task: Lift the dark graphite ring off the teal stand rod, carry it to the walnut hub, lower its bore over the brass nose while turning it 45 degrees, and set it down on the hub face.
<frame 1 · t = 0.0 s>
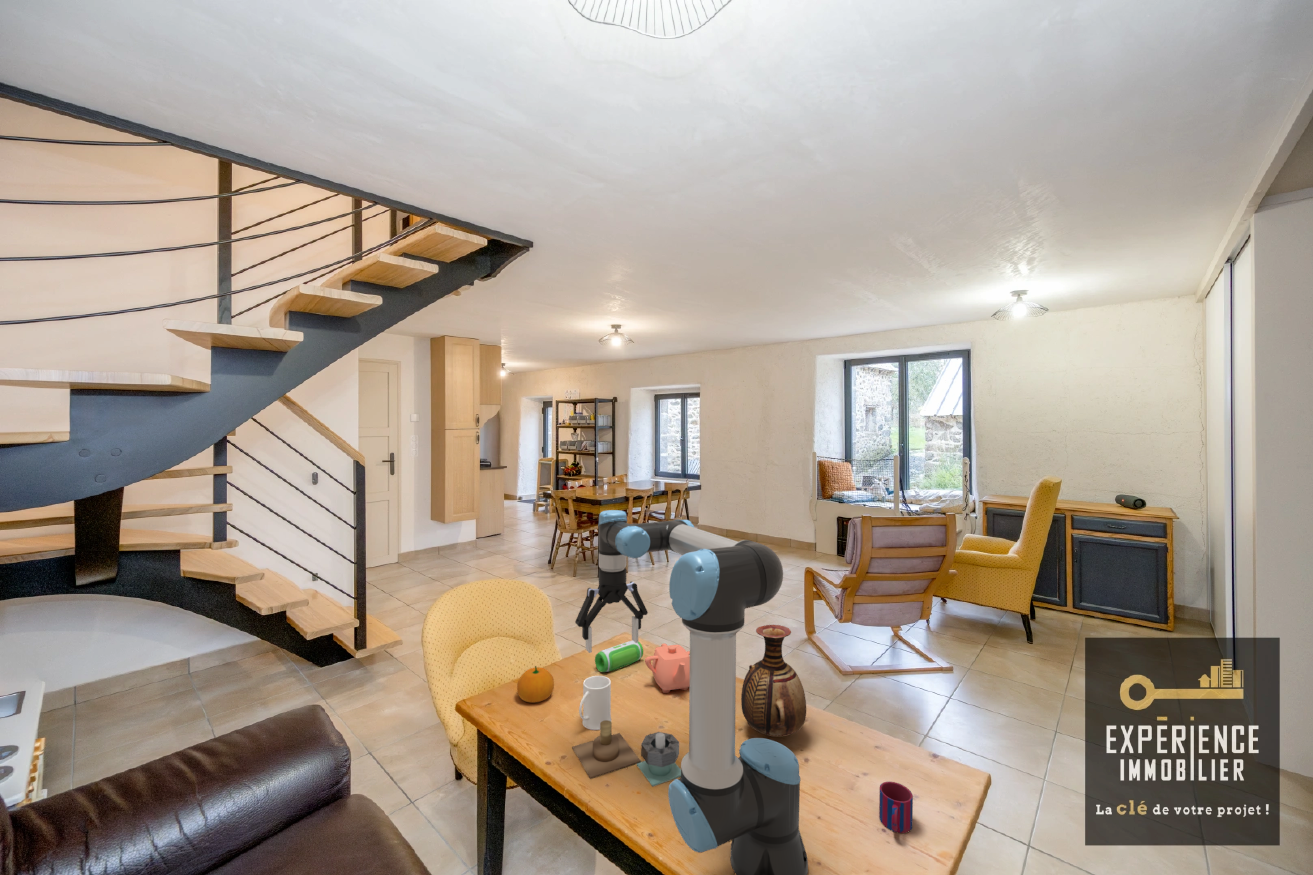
hand: (612, 645, 141), 28 cm above the table, fingers open, 13 cm apart
hub: (605, 754, 138), on the table
vase: (773, 734, 148), on the table
mug: (593, 725, 152), on the table
stand: (660, 770, 132), on the table
speaker: (619, 666, 190), on the table
teapot: (672, 686, 175), on the table
fruit: (535, 697, 168), on the table
cup: (894, 827, 114), on the table
clutch ring: (660, 754, 132), point 4 cm above the table, touching stand
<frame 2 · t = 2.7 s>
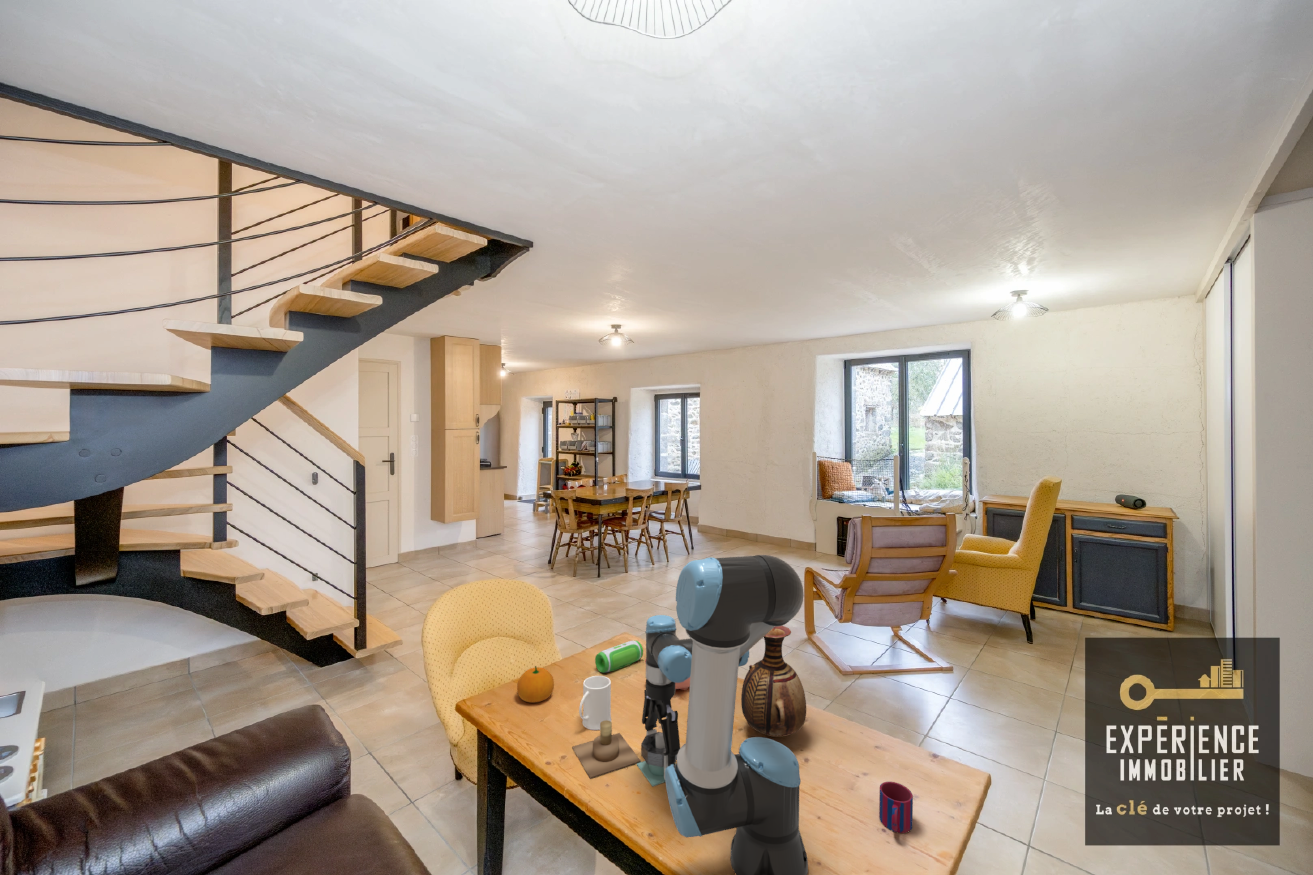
hand: (660, 765, 132), 1 cm above the table, fingers closed on clutch ring, 9 cm apart
clutch ring: (660, 754, 132), point 4 cm above the table, touching gripper, stand
everything else where it was.
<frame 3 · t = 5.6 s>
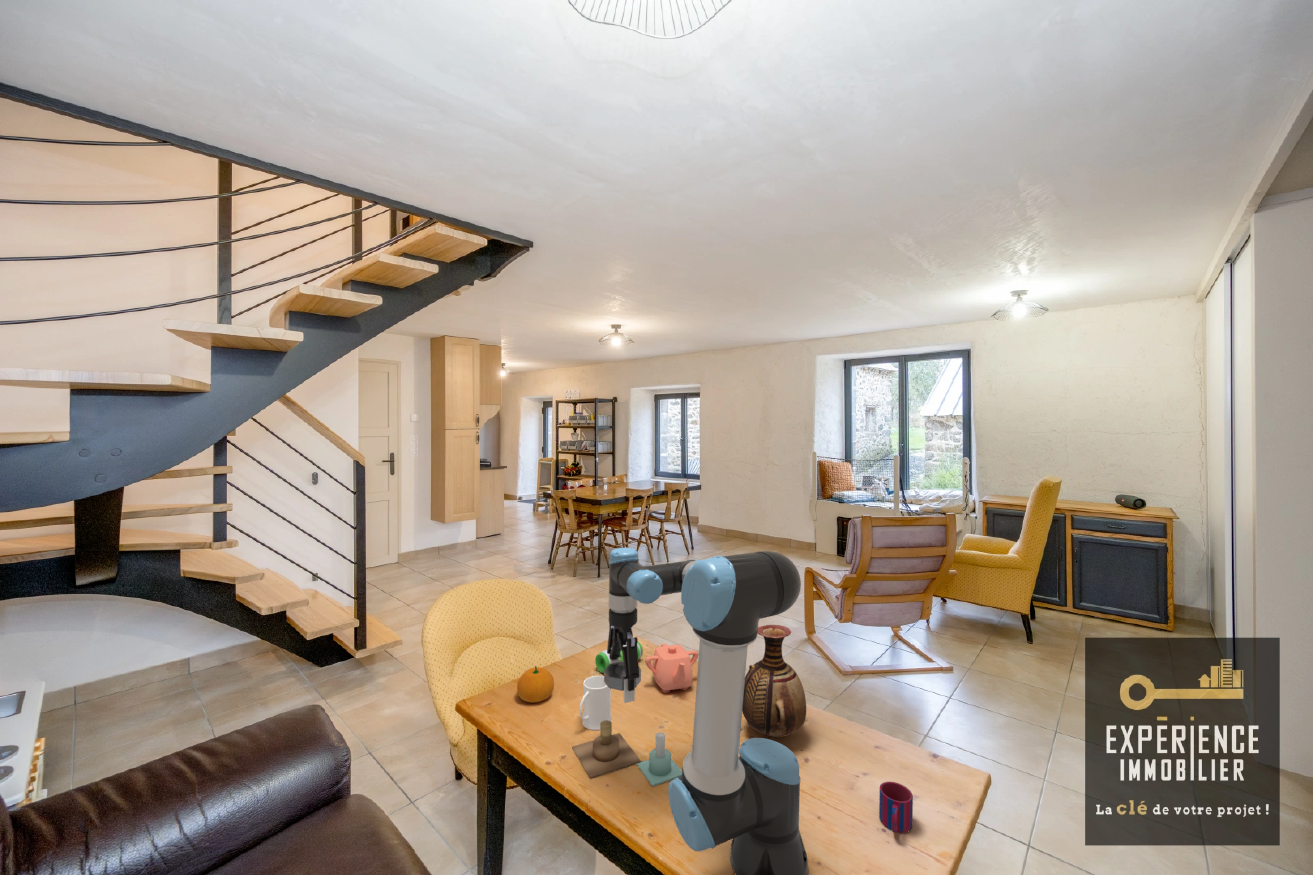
hand: (622, 691, 137), 18 cm above the table, fingers closed on clutch ring, 9 cm apart
clutch ring: (622, 680, 137), point 20 cm above the table, touching gripper
everything else where it was.
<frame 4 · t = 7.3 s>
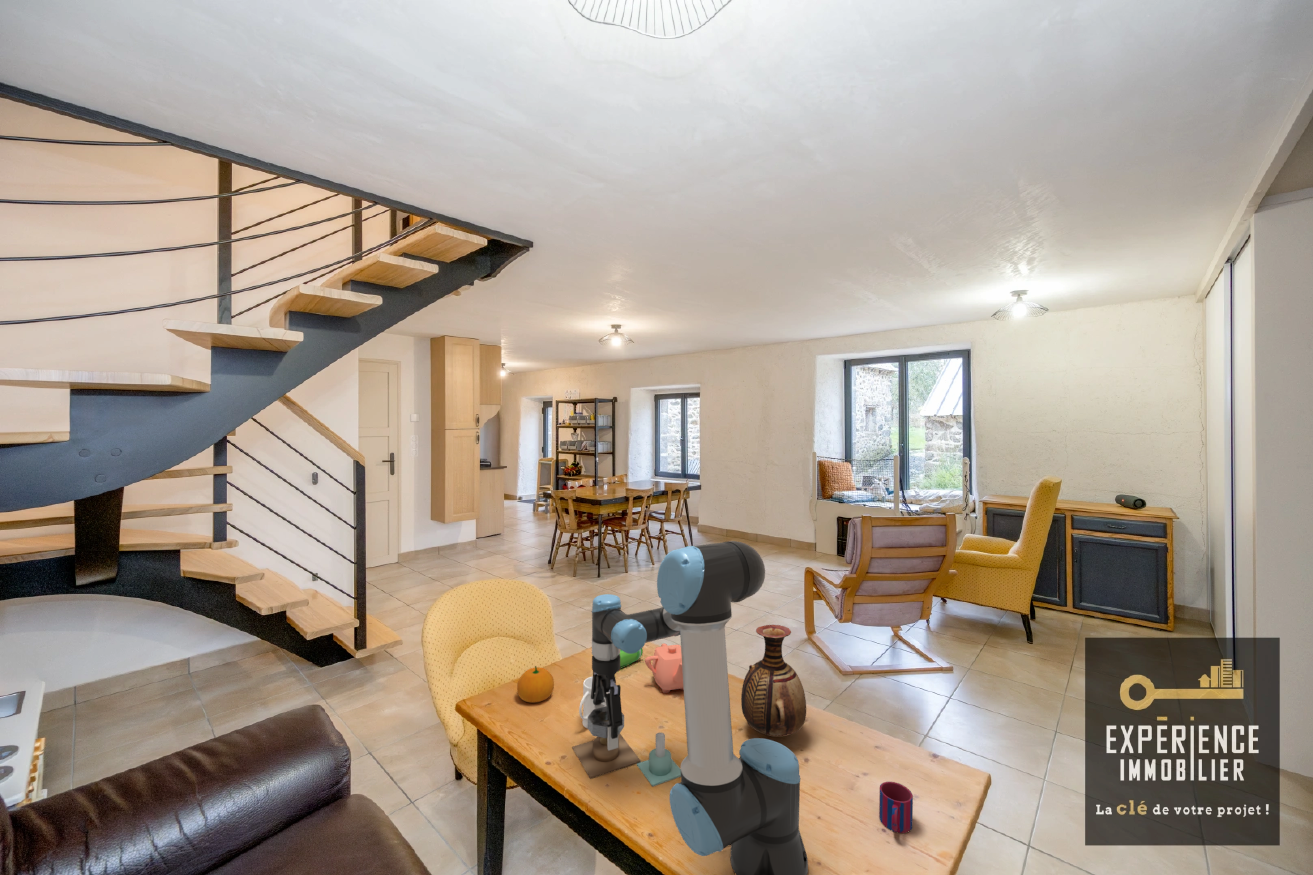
hand: (605, 738, 138), 4 cm above the table, fingers closed on clutch ring, 9 cm apart
clutch ring: (605, 727, 138), point 7 cm above the table, touching gripper
everything else where it was.
when the fingers open (1 cm above the table, at t = 8.4 s): clutch ring stays where it is, resting on hub.
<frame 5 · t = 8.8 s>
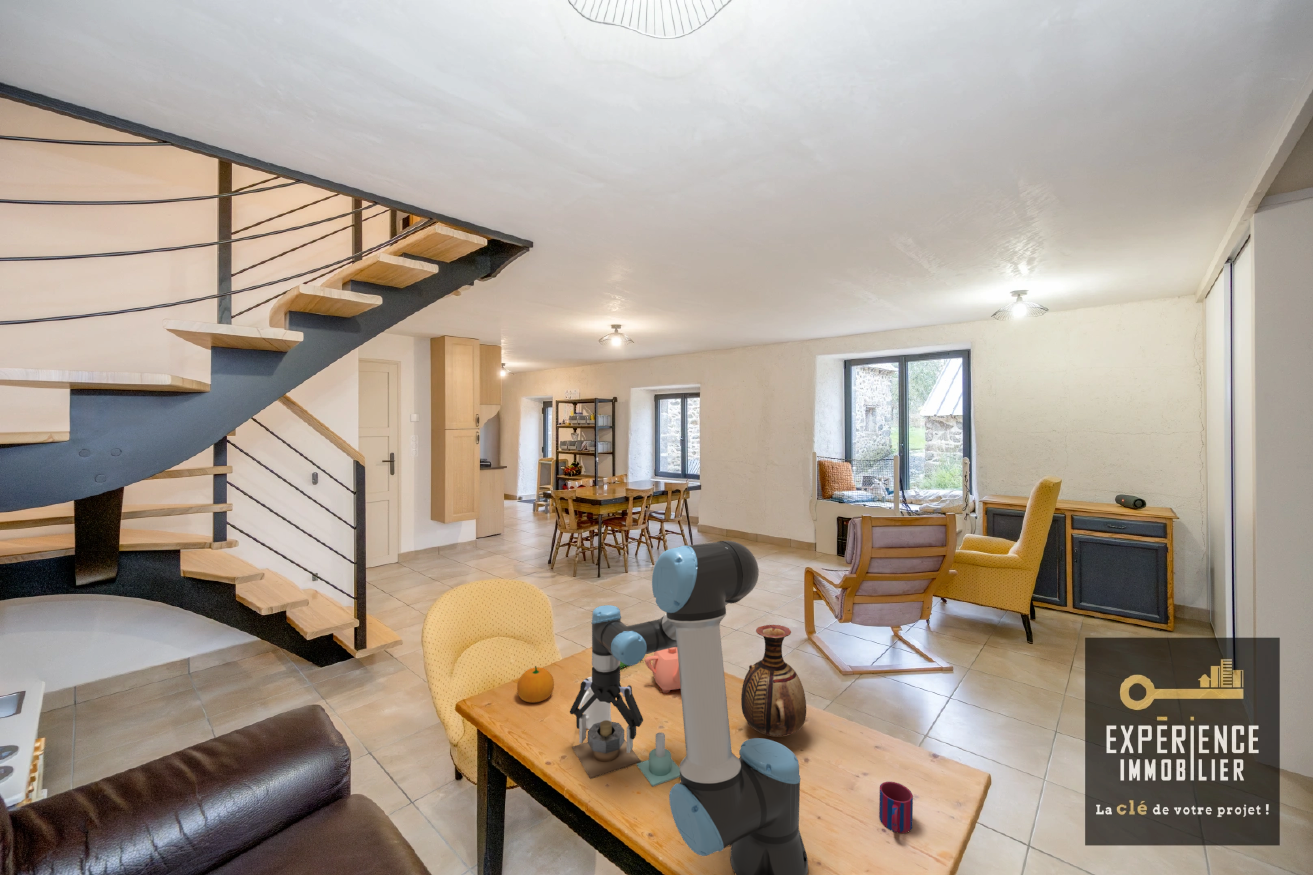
hand: (605, 744, 138), 3 cm above the table, fingers open, 13 cm apart
clutch ring: (606, 741, 138), point 3 cm above the table, touching hub
everything else where it was.
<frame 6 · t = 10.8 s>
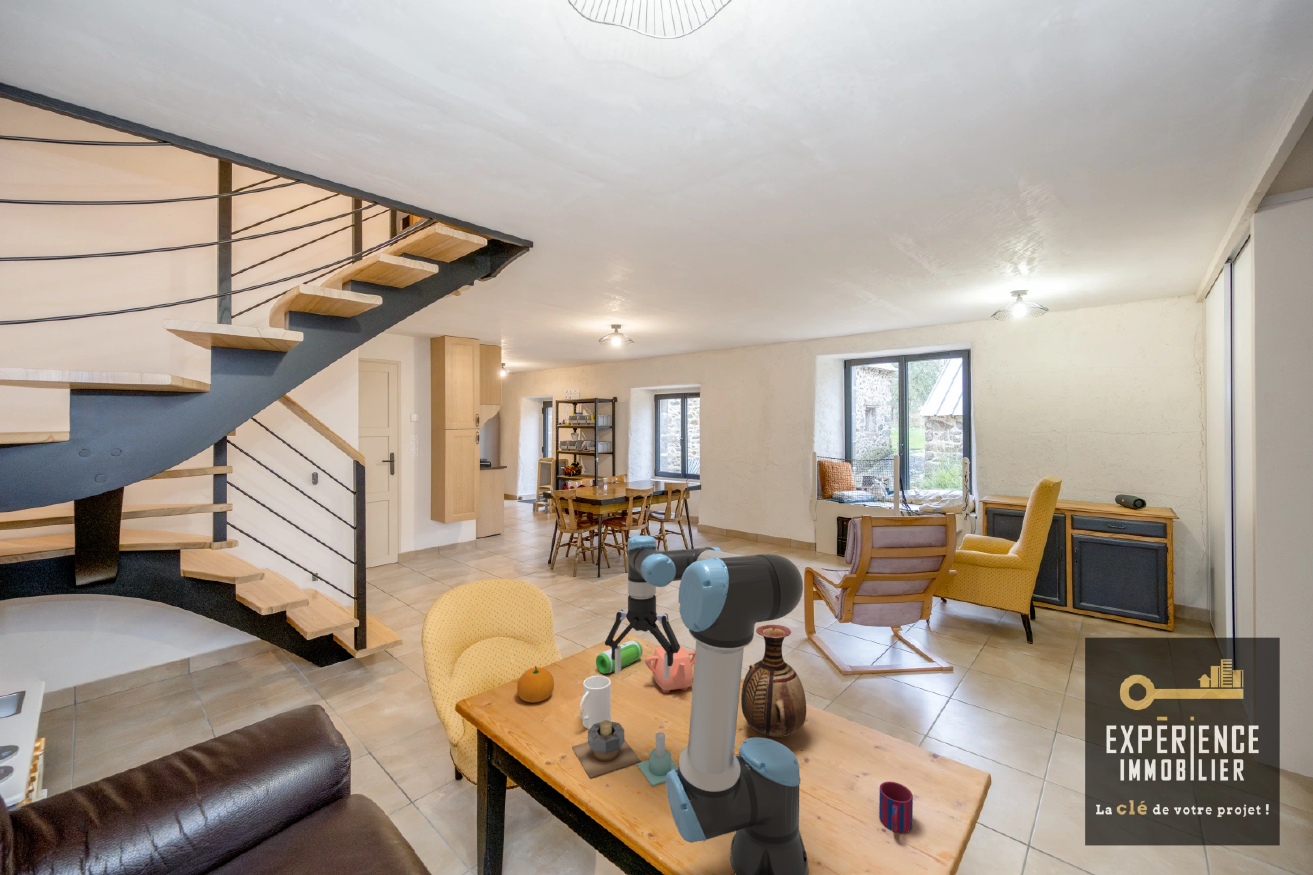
hand: (642, 674, 138), 21 cm above the table, fingers open, 13 cm apart
nothing on the table moved.
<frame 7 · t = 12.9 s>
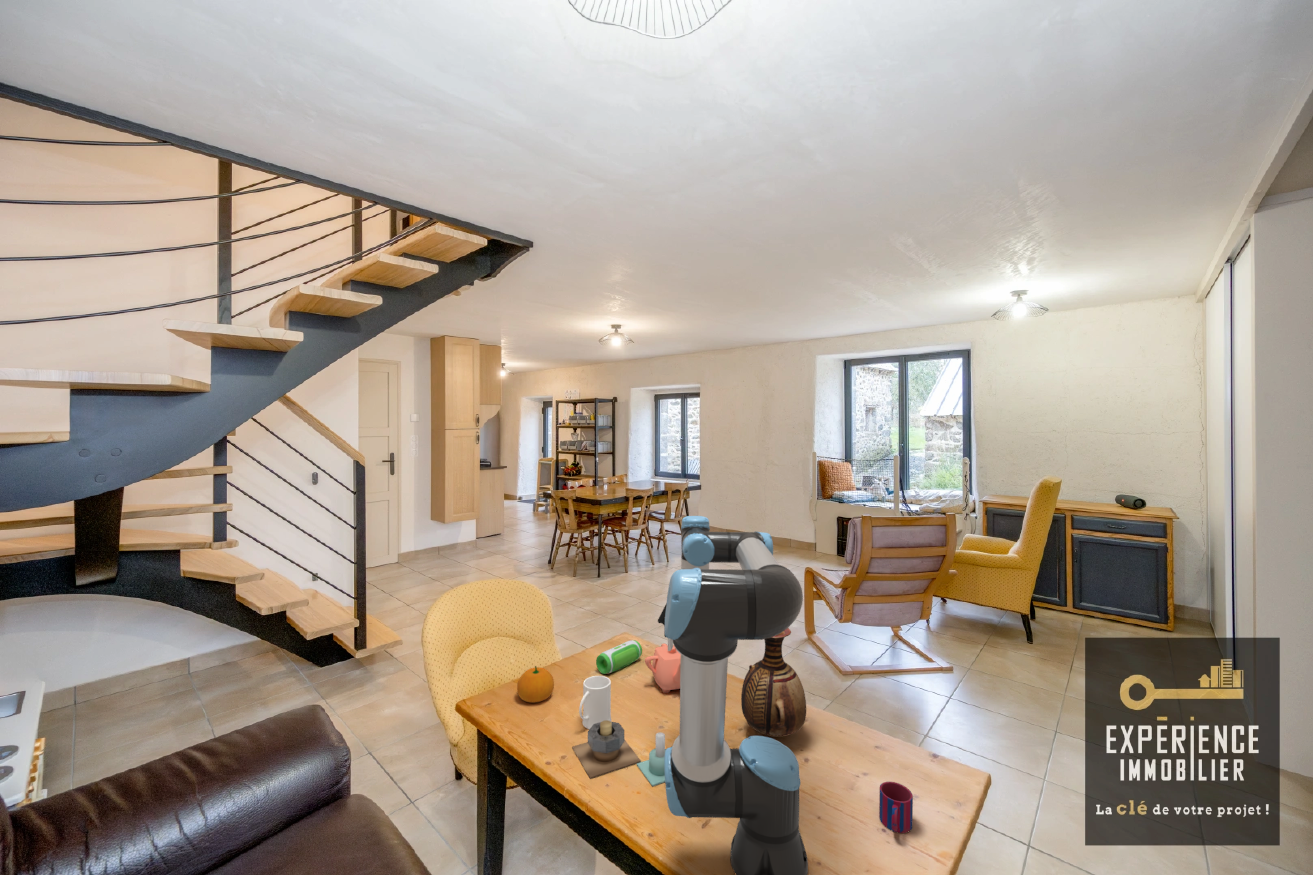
hand: (694, 652, 140), 27 cm above the table, fingers open, 13 cm apart
nothing on the table moved.
at the end: clutch ring 0.0 cm off-centre on the hub, point 3.5 cm above the hub's base; the gripper is holding nothing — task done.
